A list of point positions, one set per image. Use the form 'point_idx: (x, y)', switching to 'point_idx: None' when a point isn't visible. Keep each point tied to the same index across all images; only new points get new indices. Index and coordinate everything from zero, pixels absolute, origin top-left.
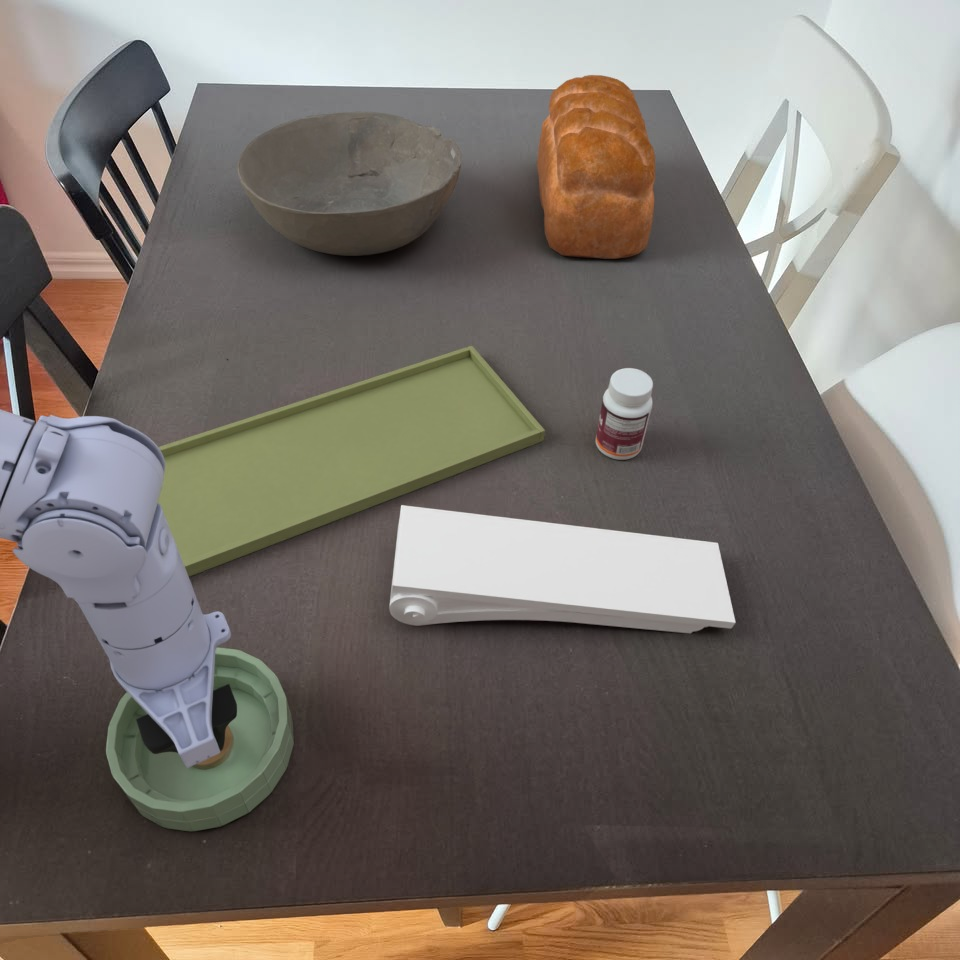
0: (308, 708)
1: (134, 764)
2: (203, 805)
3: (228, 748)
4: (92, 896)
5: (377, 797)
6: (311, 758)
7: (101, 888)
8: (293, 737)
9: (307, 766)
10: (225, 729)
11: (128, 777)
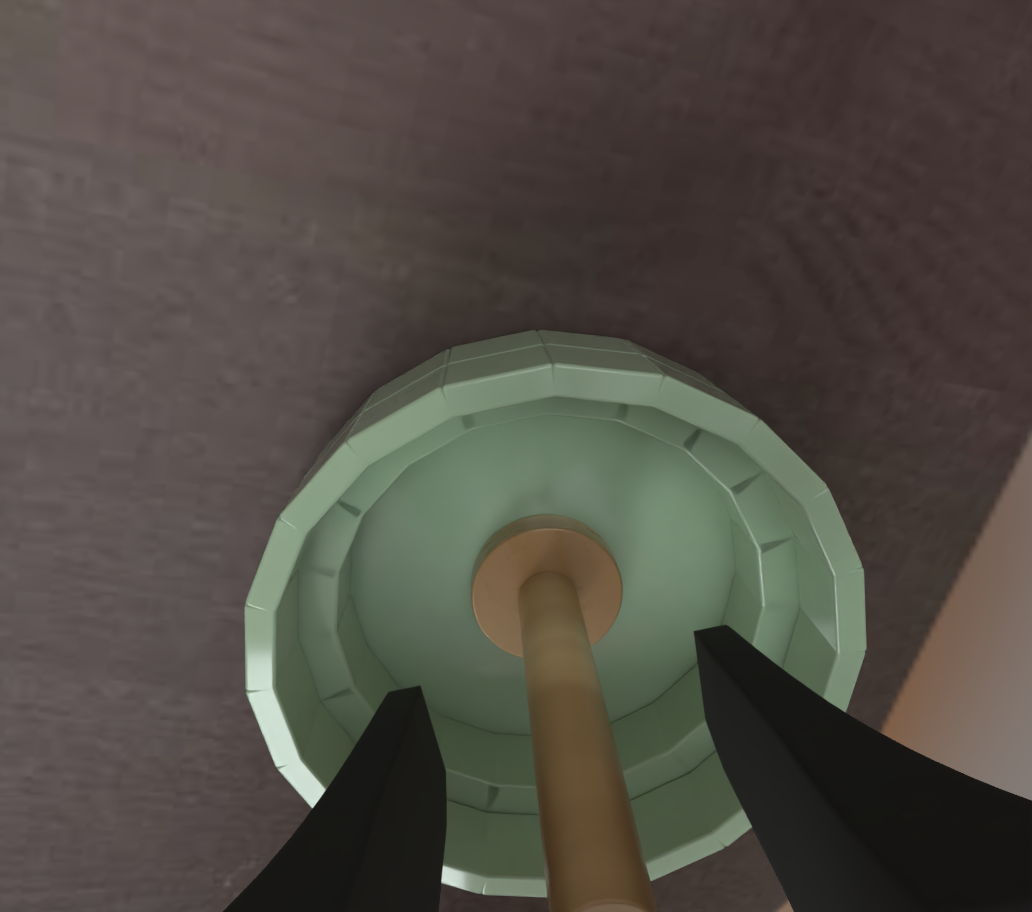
0: (497, 266)
1: None
2: (856, 671)
3: (594, 541)
4: None
5: (898, 89)
6: (679, 288)
7: None
8: (606, 337)
9: (700, 305)
10: (851, 716)
11: None
